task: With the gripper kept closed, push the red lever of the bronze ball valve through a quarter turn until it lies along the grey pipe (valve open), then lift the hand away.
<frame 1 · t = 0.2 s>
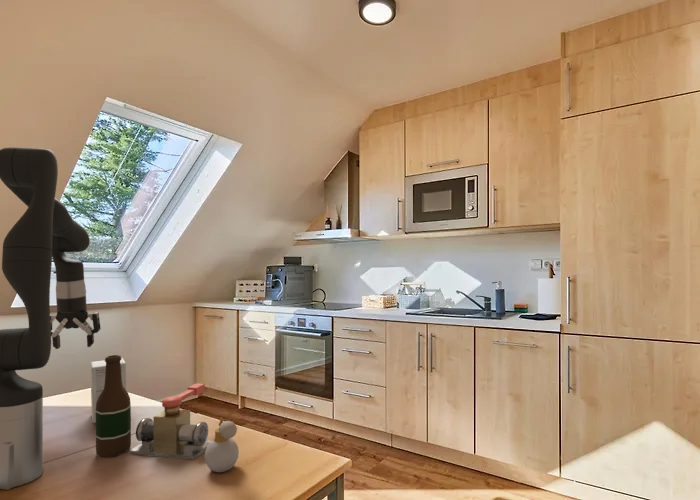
hand: (74, 347, 132), 22 cm above the table, tool pointing down, fingers open, 8 cm apart
lever: (184, 395, 116), point 12 cm above the table, hinge at 0.0°
beer bottle: (113, 452, 110), on the table
valve: (172, 448, 111), on the table
supplement box: (108, 416, 136), on the table
perfume bottle: (225, 471, 99), on the table
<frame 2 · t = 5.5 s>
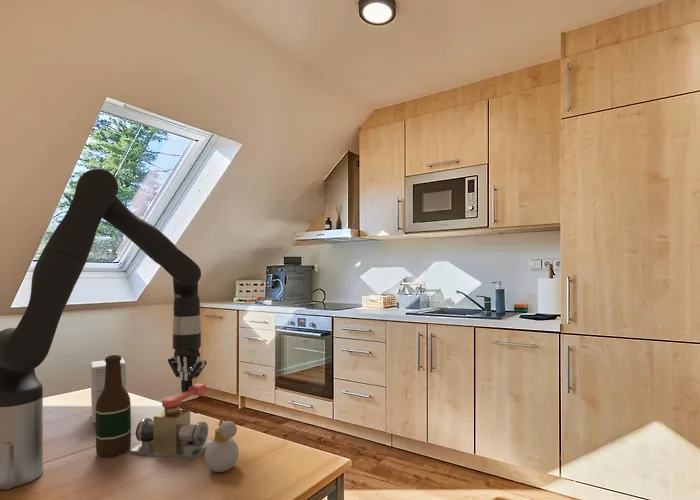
hand: (186, 392, 123), 11 cm above the table, tool pointing down, fingers closed
lever: (184, 395, 116), point 12 cm above the table, hinge at 1.4°, touching gripper
everything else where it was.
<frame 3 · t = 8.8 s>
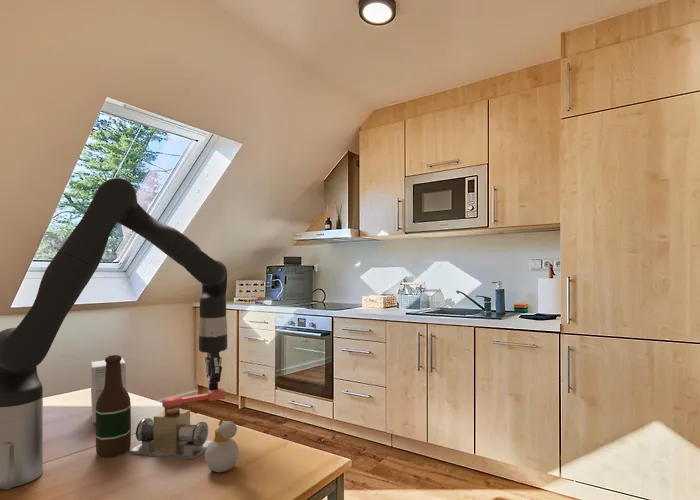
hand: (213, 396, 119), 11 cm above the table, tool pointing down, fingers closed
lever: (194, 398, 113), point 12 cm above the table, hinge at 48.6°, touching gripper
everything else where it was.
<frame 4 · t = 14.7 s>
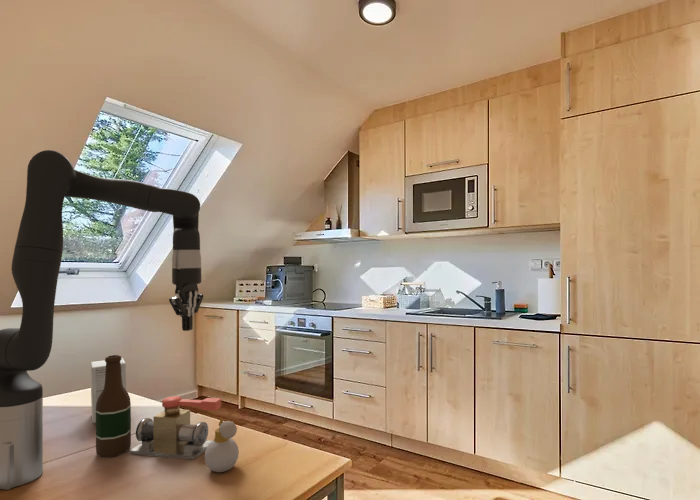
hand: (187, 330, 118), 29 cm above the table, tool pointing down, fingers closed
lever: (190, 402, 110), point 12 cm above the table, hinge at 89.4°
everything else where it was.
at the end: lever at +89° (first picture: +0°) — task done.
